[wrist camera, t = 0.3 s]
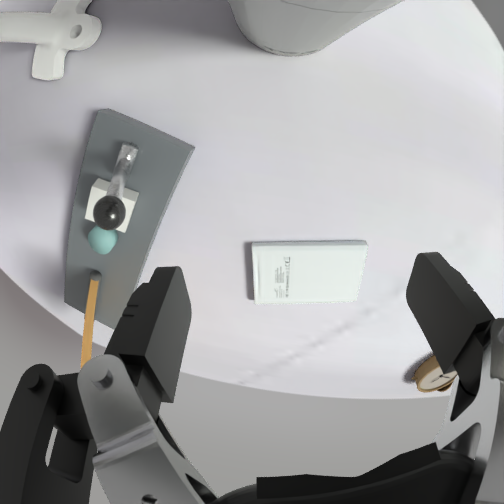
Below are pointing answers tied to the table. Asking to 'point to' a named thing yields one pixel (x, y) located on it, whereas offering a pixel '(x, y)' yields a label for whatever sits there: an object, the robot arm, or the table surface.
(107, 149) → the panel
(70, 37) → the joystick
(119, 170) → the toggle lever
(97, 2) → the table surface
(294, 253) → the external hard drive
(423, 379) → the alarm clock
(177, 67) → the table surface
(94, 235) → the push button
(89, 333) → the tan flat slab
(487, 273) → the table surface
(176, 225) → the table surface
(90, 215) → the block
